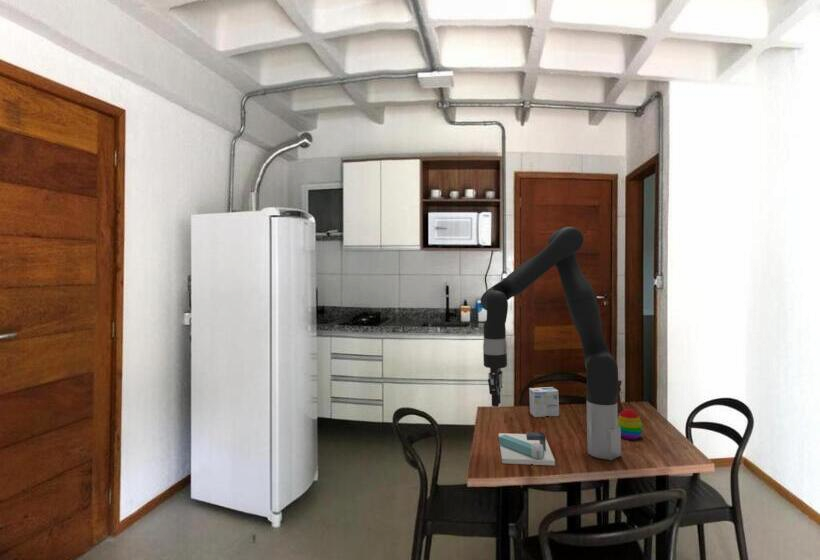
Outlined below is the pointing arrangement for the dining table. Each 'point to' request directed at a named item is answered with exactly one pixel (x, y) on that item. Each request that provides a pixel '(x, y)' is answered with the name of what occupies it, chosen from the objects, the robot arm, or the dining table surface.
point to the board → (520, 458)
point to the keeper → (537, 438)
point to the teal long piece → (522, 446)
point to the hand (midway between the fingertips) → (496, 404)
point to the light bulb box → (544, 401)
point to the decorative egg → (630, 424)
